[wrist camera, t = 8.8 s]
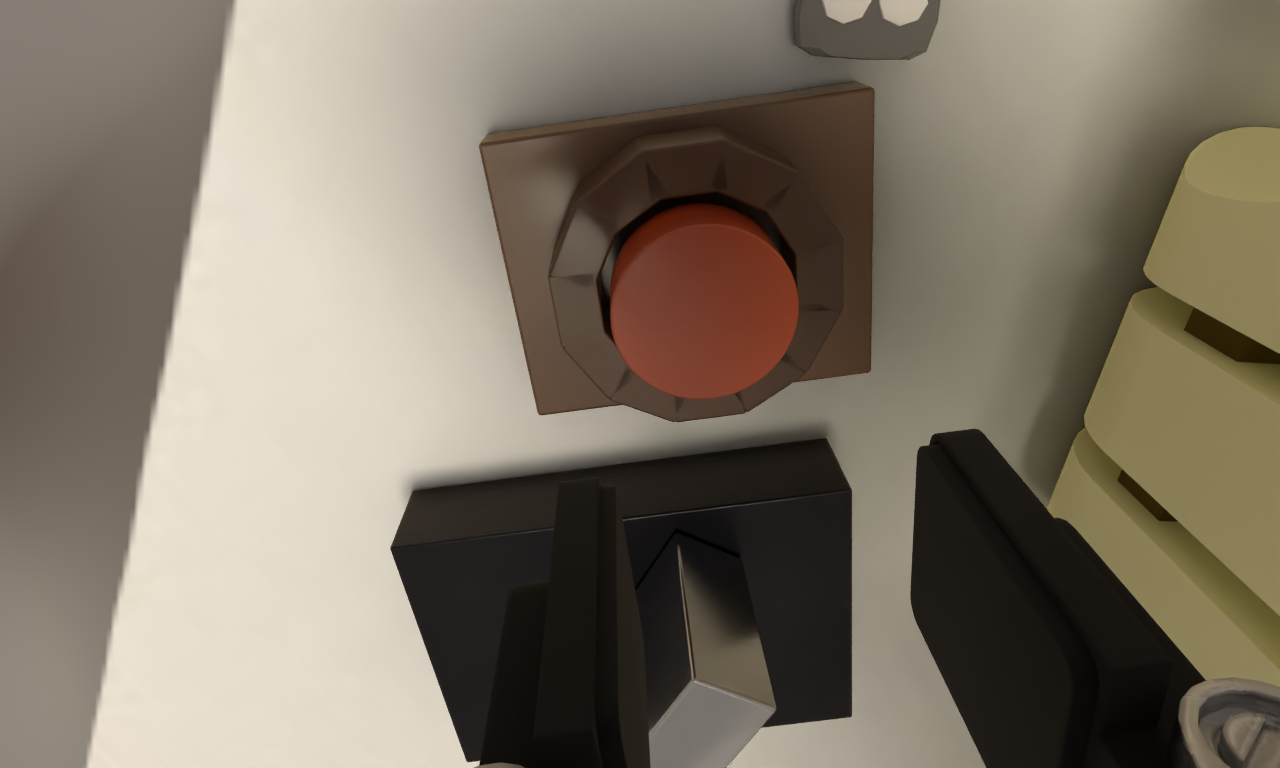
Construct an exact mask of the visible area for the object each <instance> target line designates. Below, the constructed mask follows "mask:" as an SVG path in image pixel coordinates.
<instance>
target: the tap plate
mask: <svg viewBox="0 0 1280 768" xmlns="http://www.w3.org/2000/svg"><path fill="white" fill-rule="evenodd" d="M593 477H600V479H601V482H602V487H606V486H614V485H616V486H617V490H618V495H619V501H620V506H621V512H622V518H623V524H624V529H625V535H626V541H627V547H628V552H629V558H630V564H631V570H632V575H633V581H634V587H635V591H636V590H637V588H638V587H639V585H640V584H641V582H642V581H643V580H644V578H645V577H646V575H647V574H648V572H649V571H650V569H651V568H652V566H653V565H654V564H655V562H656V561H657V559H658V558H659V556H660V555H661V553H662V552H663V550H664V549H665V548H666V546H667V545H668V543H669V542H670V540H671V539H672V537H673V536H674V535H675V533H680V534H682V535H684V536H687V537H689V538H692V539H694V540H697V541H699V542H701V543H704V544H706V545H709V546H711V547H714V548H716V549H718V550H721V551H723V552H726V553H728V554H731V555H733V556H735V557H738V558H740V559H741V560H742V561H743V566H744V570H745V574H746V579H747V583H748V587H749V592H750V596H751V600H752V605H753V609H754V613H755V618H756V622H757V626H758V631H759V635H760V639H761V644H762V648H763V652H764V657H765V661H766V665H767V670H768V674H769V678H770V683H771V687H772V691H773V695H774V700H775V704H776V711H775V712H774V713H773V714H772V716H771V717H770V718H769V719H768V720H767V721H766V722H765V724H764V725H763V726H762V727H771V726H779V725H788V724H796V723H805V722H813V721H822V720H830V719H839V718H847V717H851V716H852V490H851V488H850V486H849V484H848V481H847V479H846V477H845V475H844V473H843V471H842V469H841V467H840V465H839V463H838V461H837V459H836V457H835V454H834V452H833V450H832V448H831V446H830V444H829V442H828V440H827V439H826V438H823V439H815V440H807V441H799V442H792V443H784V444H776V445H768V446H760V447H752V448H745V449H737V450H729V451H721V452H713V453H706V454H698V455H690V456H682V457H674V458H667V459H659V460H651V461H643V462H635V463H628V464H620V465H612V466H604V467H596V468H589V469H581V470H573V471H565V472H557V473H550V474H542V475H534V476H526V477H518V478H511V479H503V480H495V481H487V482H479V483H472V484H464V485H456V486H448V487H440V488H432V489H425V490H417V491H413V492H412V494H411V497H410V499H409V502H408V504H407V507H406V509H405V512H404V515H403V517H402V520H401V522H400V525H399V527H398V530H397V532H396V535H395V538H394V540H393V543H392V545H391V548H390V549H391V552H392V555H393V557H394V560H395V563H396V566H397V569H398V571H399V574H400V577H401V580H402V582H403V585H404V588H405V591H406V594H407V596H408V599H409V602H410V605H411V608H412V610H413V613H414V616H415V619H416V621H417V624H418V627H419V630H420V633H421V635H422V638H423V641H424V644H425V647H426V649H427V652H428V655H429V658H430V661H431V663H432V666H433V669H434V672H435V674H436V677H437V680H438V683H439V686H440V688H441V691H442V694H443V697H444V700H445V702H446V705H447V708H448V711H449V714H450V716H451V719H452V722H453V725H454V727H455V730H456V733H457V736H458V739H459V741H460V744H461V747H462V750H463V753H464V755H465V758H466V761H467V762H473V761H480V759H481V753H482V747H483V741H484V735H485V729H486V723H487V717H488V711H489V705H490V699H491V693H492V687H493V681H494V675H495V669H496V663H497V657H498V651H499V645H500V639H501V634H502V628H503V622H504V616H505V610H506V604H507V598H508V594H509V590H510V588H511V587H512V586H513V585H520V584H528V583H536V582H544V581H549V577H550V567H551V557H552V547H553V538H554V528H555V518H556V508H557V498H558V489H559V483H560V482H562V481H570V480H578V479H585V478H593ZM762 727H761V728H762Z"/></svg>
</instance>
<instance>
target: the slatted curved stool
mask: <svg viewBox="0 0 1280 768" xmlns="http://www.w3.org/2000/svg"><path fill="white" fill-rule="evenodd" d="M1143 270H1144V273H1145V276H1146V277H1147V278H1148V279H1150V280H1151V281H1152V282H1153V283H1154V284H1155V285H1157V286H1158V287H1155V288H1150V289H1145V290H1141V291H1139V292H1137V293H1135V294H1134V295H1133V296H1132V298H1131V300H1130V302H1129V305H1128V307H1127V310H1126V312H1125V315H1124V317H1123V320H1122V322H1121V325H1120V327H1119V330H1118V332H1117V335H1116V337H1115V340H1114V342H1113V345H1112V347H1111V350H1110V352H1109V355H1108V357H1107V359H1106V362H1105V364H1104V367H1103V369H1102V372H1101V374H1100V377H1099V379H1098V382H1097V384H1096V387H1095V389H1094V392H1093V394H1092V397H1091V399H1090V402H1089V404H1088V407H1087V409H1086V412H1085V414H1084V421H1085V428H1084V429H1083V430H1081V431H1080V432H1079V433H1078V434H1077V436H1076V438H1075V440H1074V442H1073V444H1072V447H1071V449H1070V452H1069V454H1068V457H1067V459H1066V462H1065V464H1064V467H1063V469H1062V472H1061V474H1060V477H1059V479H1058V482H1057V484H1056V487H1055V489H1054V492H1053V494H1052V497H1051V499H1050V502H1049V504H1048V507H1047V510H1048V511H1049V513H1050V514H1051V515H1052V516H1053V517H1054V518H1061V519H1064V520H1066V521H1068V522H1069V523H1070V524H1071V525H1072V526H1073V527H1074V528H1075V529H1076V530H1077V531H1078V532H1079V533H1080V534H1081V536H1082V537H1083V538H1084V539H1085V540H1086V541H1087V542H1088V544H1089V545H1090V546H1091V547H1092V548H1093V549H1094V551H1095V552H1096V553H1097V554H1098V555H1099V556H1100V558H1101V559H1102V560H1103V561H1104V562H1105V563H1106V565H1107V566H1108V567H1109V568H1110V569H1111V570H1112V572H1113V573H1114V574H1115V575H1116V576H1117V577H1118V579H1119V580H1120V581H1121V582H1122V583H1123V584H1124V585H1125V587H1126V588H1127V589H1128V590H1129V591H1130V592H1131V594H1132V595H1133V596H1134V597H1135V598H1136V599H1137V601H1138V602H1139V603H1140V604H1141V605H1142V606H1143V608H1144V609H1145V610H1146V611H1147V612H1148V613H1149V615H1150V616H1151V617H1152V618H1153V619H1154V620H1155V622H1156V623H1157V624H1158V625H1159V626H1160V627H1161V628H1162V630H1163V631H1164V632H1165V633H1166V634H1167V635H1168V637H1169V638H1170V639H1171V640H1172V641H1173V642H1174V644H1175V645H1176V646H1177V647H1178V648H1179V649H1180V651H1181V652H1182V653H1183V654H1184V655H1185V656H1186V658H1187V659H1188V660H1189V661H1190V662H1191V663H1192V665H1193V666H1194V667H1195V668H1196V669H1197V670H1198V671H1199V673H1200V674H1201V675H1202V676H1203V677H1204V678H1205V680H1209V679H1218V678H1229V677H1235V678H1242V679H1250V680H1257V681H1262V682H1265V683H1268V684H1271V685H1275V686H1278V687H1280V128H1268V127H1242V128H1237V129H1233V130H1229V131H1225V132H1221V133H1218V134H1216V135H1214V136H1212V137H1211V138H1209V139H1207V140H1205V141H1203V142H1202V143H1201V144H1200V145H1198V146H1197V147H1196V148H1195V149H1194V150H1193V151H1192V152H1191V153H1190V155H1189V157H1188V159H1187V161H1186V163H1185V165H1184V167H1183V170H1182V172H1181V175H1180V177H1179V180H1178V182H1177V185H1176V187H1175V190H1174V192H1173V195H1172V197H1171V200H1170V202H1169V205H1168V207H1167V210H1166V212H1165V215H1164V217H1163V220H1162V222H1161V225H1160V227H1159V230H1158V232H1157V235H1156V237H1155V240H1154V242H1153V245H1152V247H1151V250H1150V252H1149V255H1148V257H1147V260H1146V262H1145V265H1144V267H1143Z"/></svg>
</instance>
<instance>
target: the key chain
mask: <svg viewBox="0 0 1280 768" xmlns="http://www.w3.org/2000/svg"><path fill="white" fill-rule="evenodd" d="M939 7H940V0H797V2H796V8H795V14H794V20H795V38H796V45H797V46H798V47H800V48H801V49H803V50H804V51H806V52H807V53H809V54H811V55H814V56H821V57H835V58H848V59H861V60H910V59H912V58H914V57H916V56H918V55H920V54H922V53H924V52H926V51H927V48H928V45H929V43H930V40H931V38H932V35H933V32H934V30H935V27H936V24H937V21H938V14H939Z"/></svg>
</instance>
